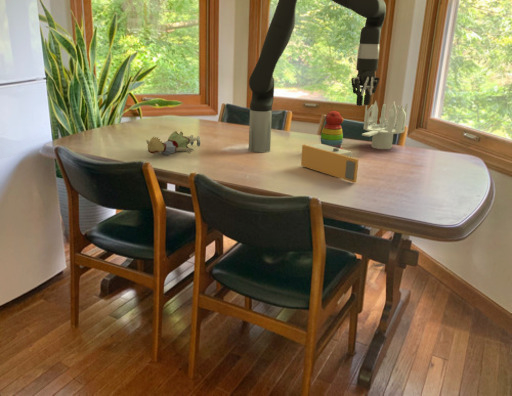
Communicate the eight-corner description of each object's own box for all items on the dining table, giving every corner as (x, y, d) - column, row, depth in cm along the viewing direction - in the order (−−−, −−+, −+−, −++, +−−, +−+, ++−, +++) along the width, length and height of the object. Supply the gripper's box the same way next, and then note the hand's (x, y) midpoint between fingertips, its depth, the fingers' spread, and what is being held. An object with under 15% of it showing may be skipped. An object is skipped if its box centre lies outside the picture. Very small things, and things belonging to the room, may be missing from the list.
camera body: (303, 166, 177) (304, 143, 174) (318, 163, 181) (319, 141, 178) (337, 177, 164) (339, 153, 161) (352, 173, 169) (355, 150, 166)
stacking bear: (342, 156, 194) (346, 113, 188) (318, 154, 195) (321, 112, 190) (343, 150, 204) (347, 110, 198) (320, 149, 205) (323, 108, 200)
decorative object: (344, 151, 203) (348, 105, 197) (371, 141, 225) (375, 99, 218) (383, 158, 193) (389, 109, 186) (407, 147, 215) (413, 103, 208)
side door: (299, 165, 175) (300, 145, 173) (302, 165, 176) (304, 144, 174) (352, 183, 156) (355, 160, 153) (356, 182, 157) (358, 159, 154)
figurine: (173, 142, 210) (126, 153, 185) (173, 123, 208) (125, 132, 182) (218, 151, 199) (175, 164, 174) (219, 131, 197) (175, 142, 172)
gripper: (363, 57, 160) (358, 108, 166) (388, 57, 169) (382, 105, 175) (346, 56, 166) (342, 105, 172) (372, 56, 174) (367, 103, 180)
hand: (362, 105), depth 173 cm, fingers open, 3 cm apart
